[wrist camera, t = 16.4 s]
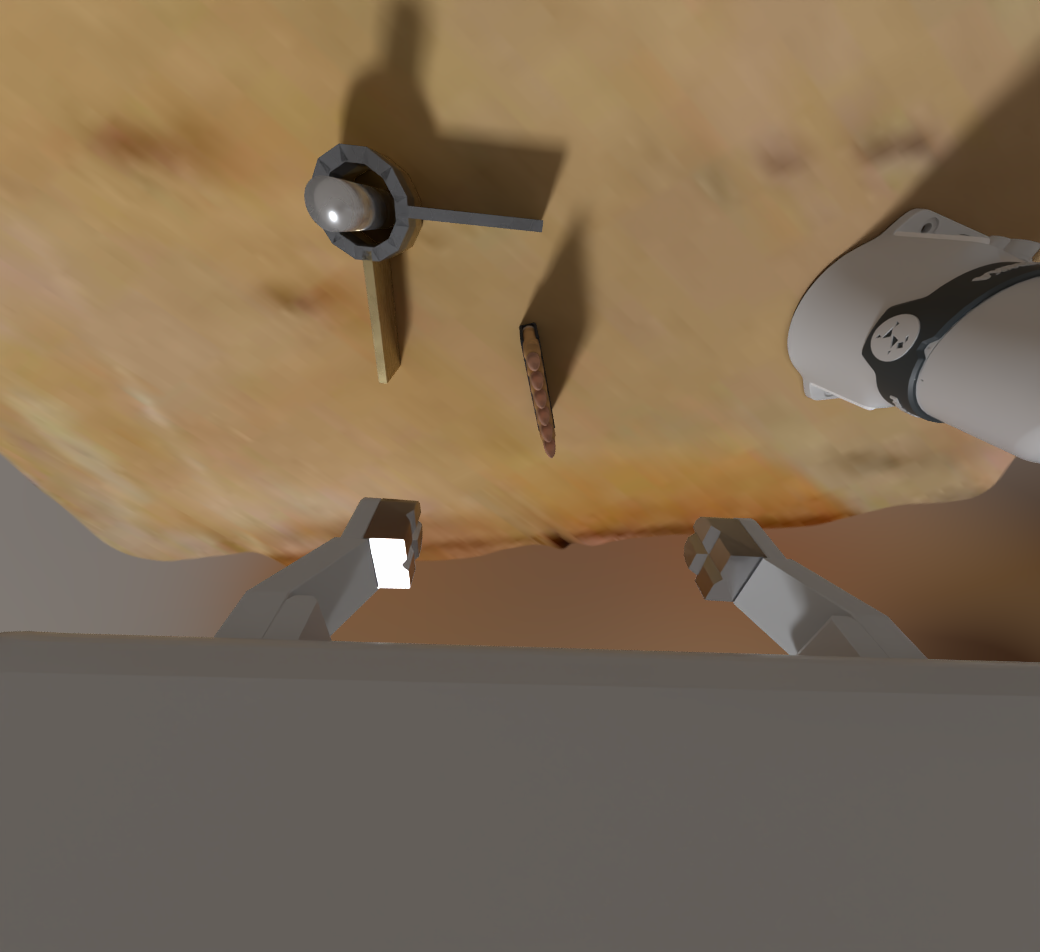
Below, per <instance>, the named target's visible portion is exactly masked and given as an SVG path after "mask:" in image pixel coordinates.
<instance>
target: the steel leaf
mask: <svg viewBox="0 0 1040 952" xmlns="http://www.w3.org/2000/svg"><path fill="white" fill-rule="evenodd" d="M357 166H362V167H369V168H371V169H372V170H373V171H374V172H376V173H377V174H378V175H380V176H381V177H382V178H383V179H384V181H385V183H386V185H387V187H388V189H389V191H390V192H391V194H392V196H393V198H394V203H395V215H396V223H395V225H394V228H393V230H392V232H391V235H390V237H389V239H388V240H386V241H384V242H383V243H381V244H380V245H373V244H367V243H365V242H364V241H362V240H361V239H360V238H358V237H357V236H355V235H354V234H353V233H351V231H348V232H330V231H327V230H325V229H323V230H324V231H325V233H326V234H327V236H328V237H329V239H330V240H331V242H332V244H334V245H335V246H337V247H338V248H340V249H341V250H343V251H344V252H346V253H347V254H349V255H350V256H352V257H353V258H355V259H359V260H363V259H364V260H365V259H367V260H370V259H372V261H379V262H380V261H383V260H386V259H388V258H390V257H392V256H394V255H395V254H397V253H399V252H400V251H402V250H404V249H405V248H406V247H407V245H408V243H409V241H410V238H411V236H412V234H413V232H414V230H415V227H416V219H422V220H432V221H441V222H450V223H460V224H469V225H479V226H488V227H498V228H507V229H516V230H526V231H535V232H542V226H543V220H534V219H525V218H515V217H506V216H497V215H488V214H478V213H469V212H460V211H451V210H441V209H432V208H423V207H415V202H414V197H413V195H412V193H411V191H410V189H409V187H408V185H407V183H406V181H405V179H404V177H403V175H402V173H401V171H400V170H399V169H398V168H396V167H395V166H394V165H393V164H391V163H390V162H389V161H388V160H386V159H385V158H384V157H383V156H381V155H380V154H379V153H378V152H376V151H374V150H372V149H370V148H368V147H363V146H355V145H346V144H338V145H336V146H335V147H334V148H332V149H331V150H329V151H328V152H326V153H325V154H324V155H322V156H321V157H319V158H318V160H317V163H316V167H315V170H314V173H313V177H315V176H319V175H325V176H329V177H334V178H338V179H342V178H343V176H344V175H345V174H347V173H348V172H350V171H351V170H353V169H354V168H355V167H357ZM313 177H312V178H313ZM366 251H368V252H369V251H371V255H372V256H371V258H370V259H368V258H369V257H370V256H368V257H367V254H368V253H367V252H366ZM362 252H365V253H362ZM362 254H366V255H363V256H366V257H367V258H365V257H363V258H362ZM369 255H370V254H369Z"/></svg>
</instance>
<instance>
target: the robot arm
mask: <svg viewBox="0 0 1040 952" xmlns="http://www.w3.org/2000/svg"><path fill="white" fill-rule="evenodd" d="M924 225H925V227H924V229H923V230H922V228H923V226H924ZM921 230H922V231H921ZM1039 249H1040V243H1037V242H1034V241H1029V240H1023V239H1010V238H1006V237H1002V236H990V237H989V236H986V235H984V234H982V233H980V232H977V231H975V230H973V229H971V228H969V227H966V226H964V225H962V224H960V223H957V222H955V221H953V220H951V219H949V218H946V217H944V216H942V215H940V214H938V213H935V212H933V211H931V210H928V209H920V208H916V209H913V210H910V211H909V212H907V213H906V214H904V215H903V216H902V217H900V218H899V219H898V220H897V221H896V222H894V223H893V224H892V225H891V226H890V227H889V228H888V229H887V230H886V231H885V232H883V233H882V234H881V235H880V236H878V237H877V238H875V239H873V240H872V241H870V242H868V243H866V244H864V245H862V246H860V247H858V248H856V249H854V250H852V251H851V252H849V253H847V254H846V255H844V256H843V257H842V258H840V259H839V260H837V261H836V262H835V263H834V264H832V265H831V266H830V267H829V268H828V269H827V270H826V271H825V272H824V273H823V274H822V275H821V276H820V277H819V278H818V279H817V280H816V281H815V282H814V283H813V285H812V286H811V287H810V288H809V290H808V291H807V293H806V294H805V295H804V297H803V299H802V300H801V302H800V304H799V305H798V307H797V309H796V311H795V314H794V316H793V319H792V322H791V325H790V329H789V334H788V352H789V356H790V359H791V362H792V363H793V365H794V367H795V368H796V369H797V370H798V372H799V373H800V374H801V376H802V377H803V384H804V392H805V394H806V396H807V397H809V398H811V399H814V400H824V399H834V398H842V399H844V400H846V401H848V402H851V403H853V404H855V405H857V406H860V407H862V408H864V409H868V410H874V409H875V408H887V407H892V406H896V407H897V408H899V409H900V410H902V411H904V412H906V413H908V414H910V415H912V416H915V417H920V418H923V419H925V420H928V421H932V422H937V423H946V424H948V425H951V426H953V427H955V428H957V429H959V430H961V431H963V432H966V433H968V434H970V435H972V436H974V437H976V438H978V439H981V440H983V441H985V442H987V443H989V444H991V445H993V446H996V447H998V448H1000V449H1002V450H1004V451H1006V452H1009V453H1011V454H1013V455H1015V456H1017V457H1019V458H1021V459H1024V460H1027V461H1031V462H1036V463H1040V262H1032V257H1033V256H1034V255H1035V253H1036V252H1037V251H1038V250H1039ZM420 514H421V509H420V503H419V502H418V501H411V500H398V499H385V498H383V499H381V498H367V497H364V498H363V499H362V500H360V502H359V504H358V506H357V508H356V510H355V512H354V513H353V515H352V517H351V519H350V521H349V523H348V524H347V526H346V528H345V530H344V532H343V534H342V536H341V537H340V538H338V537H335V538H333V539H331V540H330V541H328V542H326V543H325V544H323V545H322V546H320V547H318V548H317V549H315V550H313V551H312V552H310V553H308V554H307V555H305V556H304V557H302V558H300V559H299V560H297V561H295V562H294V563H292V564H290V565H289V566H287V567H286V568H284V569H282V570H281V571H279V572H277V573H276V574H274V575H272V576H271V577H269V578H268V579H266V580H264V581H263V582H261V583H259V584H258V585H256V586H255V587H253V588H251V589H250V590H248V591H246V593H245V594H244V596H243V597H242V598H241V600H240V601H239V603H238V604H237V605H236V607H235V608H234V610H233V611H232V612H231V614H230V615H229V617H228V618H227V619H226V621H225V622H224V623H223V625H222V626H221V628H220V629H219V630H218V632H217V633H216V635H215V636H214V637H178V636H144V635H110V634H76V633H54V632H34V631H22V632H21V631H18V632H17V631H15V632H1V633H0V952H1040V663H1039V662H1038V663H1037V662H1004V661H1003V662H1002V661H967V660H966V661H965V660H936V659H927V658H926V657H925V656H924V655H923V654H922V652H921V651H920V650H919V649H918V648H917V647H916V646H915V645H914V644H913V643H912V642H911V641H910V640H909V639H908V638H907V637H906V636H905V634H904V633H903V632H902V631H901V630H900V629H899V628H898V627H897V626H896V625H895V624H894V623H893V622H892V621H891V620H890V619H889V617H888V616H886V615H884V614H883V613H881V612H879V611H877V610H876V609H874V608H872V607H871V606H869V605H867V604H866V603H864V602H862V601H861V600H859V599H857V598H856V597H854V596H852V595H850V594H849V593H847V592H846V591H844V590H842V589H841V588H839V587H837V586H836V585H834V584H832V583H830V582H829V581H827V580H826V579H824V578H822V577H820V576H819V575H817V574H816V573H814V572H812V571H810V570H809V569H807V568H805V567H803V566H802V565H800V564H799V563H797V562H795V561H794V560H792V559H786V558H785V556H784V555H783V554H782V553H781V552H780V550H779V549H778V548H777V547H776V546H775V544H774V543H773V542H772V541H771V539H770V538H769V537H768V536H767V534H766V533H765V532H764V531H763V529H762V528H761V527H760V526H759V525H758V523H757V522H756V521H754V520H752V519H750V518H716V517H700V518H698V519H697V520H696V522H695V524H694V526H693V528H694V530H695V533H694V534H693V535H691V536H690V537H688V539H687V541H686V543H685V546H684V557H685V562H686V564H687V566H688V568H689V569H690V570H691V571H692V572H694V573H695V574H696V575H697V577H696V580H695V582H696V584H697V586H698V588H699V590H700V591H701V593H702V595H703V597H704V599H705V600H715V601H730V602H734V604H735V605H736V606H737V607H738V608H739V609H740V610H741V611H742V612H744V613H745V614H746V615H747V616H748V617H749V618H750V619H751V620H752V621H753V622H754V623H756V624H757V625H758V626H759V627H760V628H761V629H762V630H763V631H764V632H766V634H768V635H769V636H770V637H771V638H772V639H773V640H774V641H775V642H776V643H777V644H778V645H780V646H781V647H782V648H783V649H784V650H785V651H786V652H787V653H788V654H789V655H774V654H771V655H770V654H740V653H705V652H673V651H640V650H608V649H576V648H543V647H510V646H509V647H508V646H476V645H475V646H473V645H444V644H411V643H408V644H407V643H378V642H345V641H331V638H330V636H331V635H332V634H333V633H334V632H335V631H336V630H337V629H338V628H339V627H340V626H341V625H342V624H343V623H344V622H345V621H346V620H347V619H348V618H349V617H350V616H351V615H352V614H353V613H354V612H355V611H356V610H358V609H359V607H361V606H362V605H363V604H364V603H365V601H367V600H368V599H369V598H370V597H371V596H372V595H373V594H374V593H375V592H376V591H377V590H378V588H410V586H411V583H412V579H413V576H414V572H415V559H416V558H418V557H419V554H420V550H421V544H422V524H421V523H420V522H419V521H418V520H419V517H420Z"/></svg>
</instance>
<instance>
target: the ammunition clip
mask: <svg viewBox="0 0 1040 952" xmlns="http://www.w3.org/2000/svg"><path fill="white" fill-rule="evenodd" d="M519 330H520V341H521V346H522V351H523V356H524V361H525V366H526V371H527V376H528V380H529V385H530V390H531V395H532V400H533V405H534V410H535V415H536V420H537V425H538V429H539V431H540V437H541V439H542V441H543V445H544V449H545V452H546V454H547V455H548V456H549V457H550V458H553V456H554V454H555V430H554V428H555V425H554V419H553V414H552V408H551V402H550V396H549V391H548V385H547V379H546V374H545V368H544V362H543V356H542V351H541V345H540V339H539V335H538V330H537V326H536V323H531V324H527V325H522V326H520V327H519Z"/></svg>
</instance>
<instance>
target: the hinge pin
mask: <svg viewBox="0 0 1040 952" xmlns="http://www.w3.org/2000/svg"><path fill="white" fill-rule="evenodd" d="M304 197H305V204H306V207H307V210H308V212H309V214H310V216H311V217H312V219H313V220H314V221H315V222H316V223H317V224H318V225H319V226H320V227H321V228H323V229H325V230H327V231H330V232H348V231H361V230H375V229H387V228H390V227H392V226H393V225H394V224H395V223H396V215H395V203H394V198H393V197H392V195H391V194H390V193H388V192H387V191H385V190H383V189H380V188H375V187H371V186H367V185H363V184H359V183H355V182H350V181H346V180H342V179H338V178H334V177H329V176H325V175H319V176H315V177H313V178H312V179H311V180H310V181H309V182H308V184H307V185H306V188H305V194H304Z"/></svg>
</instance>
